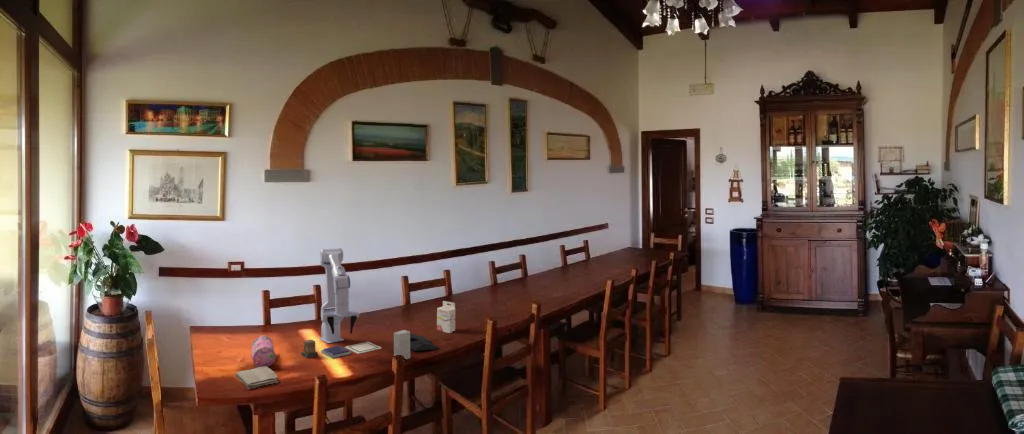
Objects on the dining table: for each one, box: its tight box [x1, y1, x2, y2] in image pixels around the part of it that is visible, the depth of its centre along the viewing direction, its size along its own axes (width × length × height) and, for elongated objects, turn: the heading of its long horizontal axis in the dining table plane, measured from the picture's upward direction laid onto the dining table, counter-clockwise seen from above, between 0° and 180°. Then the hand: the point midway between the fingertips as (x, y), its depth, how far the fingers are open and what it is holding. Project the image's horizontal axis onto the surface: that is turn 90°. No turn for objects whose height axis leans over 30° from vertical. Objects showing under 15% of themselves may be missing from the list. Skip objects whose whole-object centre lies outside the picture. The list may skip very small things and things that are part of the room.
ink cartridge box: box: [436, 300, 456, 334], centre depth 304 cm, size 9×5×15 cm, turn 58°
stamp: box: [301, 339, 319, 359], centre depth 262 cm, size 5×5×6 cm
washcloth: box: [235, 366, 279, 390], centre depth 233 cm, size 12×18×3 cm, turn 40°
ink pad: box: [321, 345, 352, 359], centre depth 266 cm, size 10×9×2 cm
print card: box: [344, 341, 382, 355], centre depth 274 cm, size 12×12×1 cm
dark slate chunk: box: [410, 332, 440, 352], centre depth 280 cm, size 15×22×5 cm
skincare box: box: [393, 329, 411, 360], centre depth 260 cm, size 6×4×12 cm
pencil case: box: [251, 335, 276, 368], centre depth 254 cm, size 21×9×9 cm, turn 24°
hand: (342, 333), depth 263 cm, fingers open, 7 cm apart
